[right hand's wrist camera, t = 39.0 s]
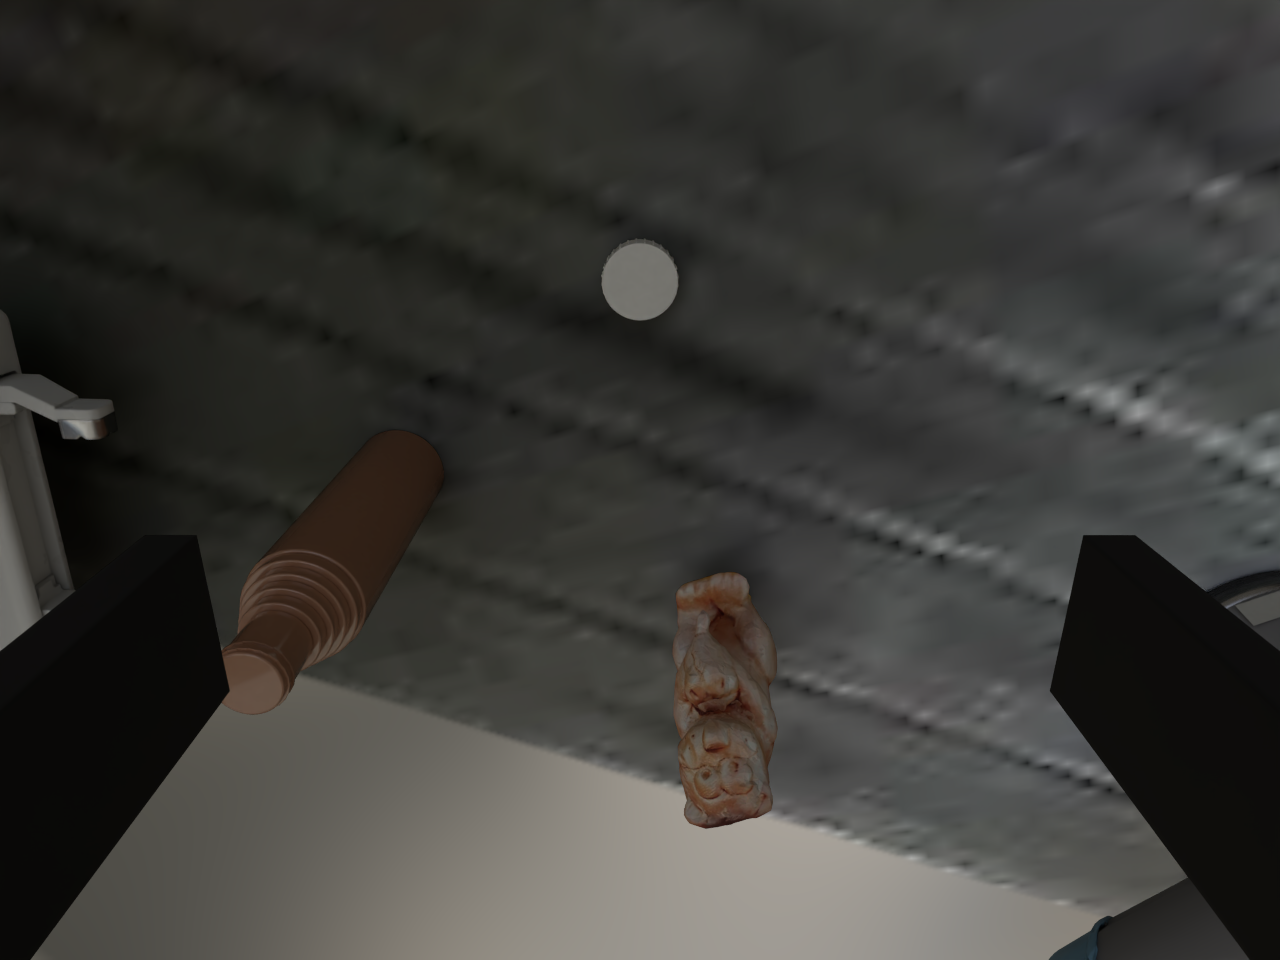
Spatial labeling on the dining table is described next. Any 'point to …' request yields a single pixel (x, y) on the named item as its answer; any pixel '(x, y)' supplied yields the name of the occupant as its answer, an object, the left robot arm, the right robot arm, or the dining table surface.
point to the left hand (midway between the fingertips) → (127, 510)
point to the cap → (639, 279)
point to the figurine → (723, 701)
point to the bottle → (329, 568)
